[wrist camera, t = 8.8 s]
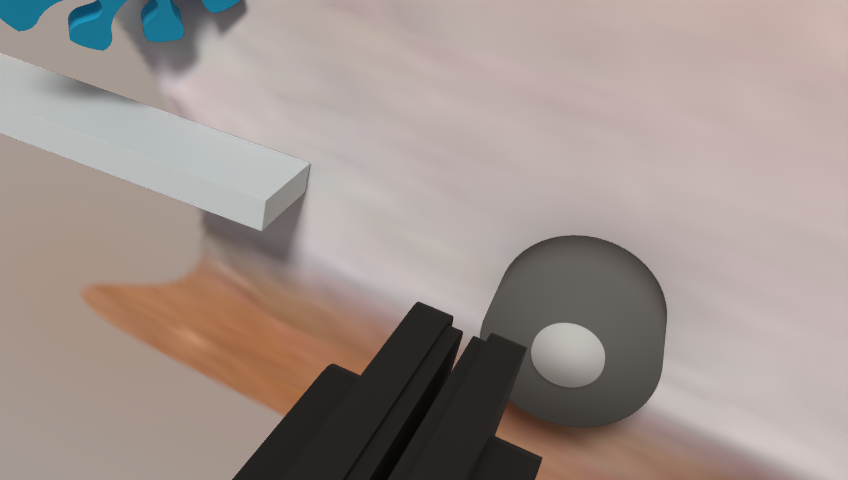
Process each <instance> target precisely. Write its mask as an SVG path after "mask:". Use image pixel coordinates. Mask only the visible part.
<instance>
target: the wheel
mask: <svg viewBox="0 0 848 480" xmlns="http://www.w3.org/2000/svg"><path fill="white" fill-rule="evenodd" d="M666 323H667V308H666V301H665V298H664V294H663V291H662V289H661V287H660V285H659V283H658V281H657V279H656V278H655V276H654V275H653V273H652V272H651V271H650V270H649V269H648V267H647V266H646V265H645V264H644V263H643V262H642V261H641V260H640V259H638V258H637V257H636V256H634V255H633V254H632V253H630V252H629V251H627V250H625V249H624V248H622V247H620V246H618V245H616V244H613V243H611V242H609V241H606V240H602V239H599V238H594V237H588V236H576V235H571V236H560V237H555V238H550V239H547V240H544V241H541V242H539V243H537V244H535V245H533V246H531V247H529V248H528V249H526V250H525V251H523V252H522V253H521V254H520V255H519V256H518V257H516V258H515V260H514V261H513V262H512V263H511V264H510V266H509V267H508V269H507V270H506V272H505V274H504V276H503V278H502V280H501V283H500V285H499V287H498V289H497V291H496V293H495V296H494V298H493V300H492V302H491V304H490V306H489V309H488V311H487V313H486V315H485V318H484V320H483V323H482V327H481V332H480V339H482V340H485V341H486V340H487V338H488V337H489V335H490V333H494V334H497V335H499V336H502V337H504V338H506V339H509V340H511V341H513V342H516V343H518V344H521V345H523V346H525V347H527V350H526V353H525V356H524V359H523V362H522V364H521V367H520V370H519V372H518V375H517V378H516V380H515V383H514V386H513V388H512V391H511V394H510V396H509V400H510V401H511V402H512V403H514V404H515V405H516V406H518V407H519V408H521V409H522V410H524V411H526V412H527V413H529V414H531V415H533V416H535V417H537V418H539V419H542V420H545V421H548V422H551V423H554V424H558V425H563V426H570V427H596V426H602V425H607V424H611V423H614V422H617V421H619V420H622V419H624V418H626V417H628V416H630V415H631V414H633V413H634V412H636V411H637V410H638V409H639V408H641V407H642V406H643V405H644V404H645V403H646V402H647V401H648V399H649V398H650V397H651V396H652V394H653V393H654V391H655V389H656V387H657V385H658V382H659V380H660V377H661V372H662V366H663V355H664V345H665V334H666Z"/></svg>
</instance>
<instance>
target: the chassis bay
mask: <svg viewBox="0 0 848 480" xmlns="http://www.w3.org/2000/svg"><path fill="white" fill-rule="evenodd" d="M0 134H3V135H6V136H8V137H11V138H14V139H16V140H19V141H22V142H25V143H27V144H30V145H32V146H35V147H38V148H41V149H43V150H46V151H48V152H51V153H54V154H57V155H59V156H62V157H64V158H67V159H70V160H73V161H75V162H78V163H81V164H83V165H86V166H89V167H91V168H94V169H97V170H99V171H102V172H105V173H107V174H110V175H113V176H115V177H118V178H121V179H123V180H126V181H129V182H131V183H134V184H137V185H140V186H142V187H145V188H147V189H150V190H153V191H155V192H158V193H161V194H163V195H166V196H169V197H171V198H174V199H177V200H179V201H182V202H185V203H187V204H190V205H193V206H195V207H198V208H201V209H203V210H206V211H209V212H211V213H214V214H217V215H219V216H222V217H225V218H227V219H230V220H233V221H235V222H238V223H241V224H243V225H246V226H249V227H251V228H254V229H257V230H259V231H262V230H263V229H265V228H266V227H267V226H268V225H269V224H270V223H271V222H272V221H273V220H275V219H276V218H277V217H278V216H279V215H280V214H281V213H282V212H283V211H284V210H286V209H287V208H288V207H289V206H290V205H291V204H292V203H293V202H294V201H296V200H297V199H298V198H299V197H300V196H301V195H302V194H303V193H304V192H305V191H306V186H307V180H308V174H309V168H310V163H308V162H305V161H303V160H300V159H297V158H294V157H291V156H289V155H286V154H283V153H280V152H277V151H275V150H272V149H269V148H266V147H263V146H261V145H258V144H255V143H252V142H249V141H246V140H244V139H241V138H238V137H235V136H232V135H230V134H227V133H224V132H221V131H218V130H216V129H213V128H210V127H207V126H204V125H202V124H199V123H196V122H193V121H190V120H187V119H185V118H182V117H179V116H176V115H173V114H171V113H168V112H165V111H162V110H159V109H156V108H154V107H151V106H148V105H145V104H143V103H139V102H137V101H134V100H131V99H128V98H126V97H123V96H120V95H117V94H114V93H112V92H109V91H106V90H103V89H100V88H98V87H95V86H92V85H89V84H86V83H84V82H81V81H78V80H75V79H72V78H69V77H67V76H64V75H61V74H58V73H55V72H53V71H50V70H47V69H44V68H41V67H38V66H36V65H33V64H30V63H27V62H25V61H22V60H19V59H16V58H13V57H10V56H8V55H5V54H2V53H0Z"/></svg>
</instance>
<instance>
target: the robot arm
mask: <svg viewBox="0 0 848 480" xmlns="http://www.w3.org/2000/svg"><path fill="white" fill-rule="evenodd" d="M452 323H453V316H452V315H449V314H447V313H445V312H442V311H440V310H438V309H435V308H433V307H430V306H428V305H426V304H423V303H421V302H417V303H416V304H415V305H414V306H413V307H412V308H411V310H410V311H409V312H408V314H407V315H406V316H405V318H404V319H403V320H402V322H401V323H400V324H399V326H398V327H397V328H396V330H395V331H394V332H393V333H392V335H391V336H390V337H389V339H388V340H387V341H386V343H385V344H384V345H383V347H382V348H381V349H380V351H379V352H378V353H377V355H376V356H375V357H374V359H373V360H372V361H371V362H370V364H369V365H368V366H367V368H366V369H365V370H364V372H363V373H362V374H361V376H360V375H358V374H356V373H353V372H351V371H349V370H347V369H344V368H342V367H340V366H338V365H336V364H331V365H329V366H328V367H327V368H326V369H325V370H324V371H323V372H322V373H321V374H320V375H319V376H318V378H317V379H316V380H315V381H314V382H313V384H312V385H311V386H310V387H309V388H308V389H307V391H306V392H305V393H304V394H303V395H302V397H301V398H300V399H299V400H298V401H297V403H296V404H295V405H294V406H293V407H292V409H291V410H290V411H289V412H288V413H287V415H286V416H285V417H284V418H283V419H282V421H281V422H280V423H279V424H278V425H277V427H276V428H275V429H274V430H273V431H272V433H271V434H270V435H269V436H268V437H267V439H266V440H265V441H264V442H263V443H262V445H261V446H260V447H259V448H258V449H257V451H256V452H255V453H254V454H253V455H252V457H251V458H250V459H249V460H248V461H247V463H246V464H245V465H244V466H243V467H242V469H241V470H240V471H239V472H238V473H237V474H236V476H235V477H234V478H233V479H232V480H535V478H536V475H537V472H538V470H539V467H540V464H541V461H542V457H540V456H538V455H536V454H534V453H531V452H529V451H527V450H525V449H522V448H520V447H518V446H516V445H513V444H511V443H509V442H507V441H505V440H502V439H500V438H498V437H496V436H495V434H496V431H497V428H498V426H499V423H500V420H501V418H502V415H503V412H504V410H505V407H506V404H507V402H508V399H509V396H510V394H511V391H512V388H513V386H514V383H515V380H516V378H517V375H518V372H519V370H520V367H521V364H522V362H523V359H524V356H525V353H526V350H527V347H525V346H523V345H521V344H518V343H516V342H513V341H511V340H509V339H506V338H504V337H502V336H499V335H497V334H494V333H490V335H489V337H488V338H487V340H486V341H485V340H482V339H480V338H478V337H475V336H473V337H472V339H471V340H470V342H469V344H468V345H467V347H466V349H465V350H464V352H463V354H462V355H461V357H460V359H459V360H458V362H457V364H456V365H455V367H454V369H453V371H452V367H453V364H454V361H455V358H456V355H457V352H458V349H459V345H460V342H461V339H462V335H463V331H461V330H459V329H456V328H454V327H452ZM451 371H452V372H451Z"/></svg>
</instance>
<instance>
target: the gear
mask: <svg viewBox="0 0 848 480" xmlns="http://www.w3.org/2000/svg"><path fill="white" fill-rule="evenodd" d="M59 1H62V0H0V18H1V19H2V20H3V21H4V22H6V23H7V24H8V25H10V26H11V27H13V28H14V29H16V30H17V31H25V30H28V29H30V28H32V27H33V26H34V25H35V24H36V23H37V21H38V19H39V17H40V16H41V15H42V13H43V12H44V11H45V10H46V9H48V8H49V7H50V6H52V5H53V4H55V3H57V2H59ZM126 1H127V0H96V1H95V2H93V3H90V4H87V5H84V6H81V7H78V8H76V9H74V10H73V11H72V12H71V13H70V15H69V17H68V24H69V36H70V40H71V41H73V42H75V43H77V44H79V45H81V46H84V47H88V48H92V49H97V50H102V51H103V50H105V49H107V48H108V47H109V46H110V44H111V42H112V33H111V24H112V20H113V17H114V16H115V14H116V12H117V11H118V9H119V8H120V7H121V6H122V5H123V4H124V3H125V2H126ZM202 1H203V4H204V6H205V8H206V9H207V10H209V11H210V12H212V13H217V12H221V11H223V10H225V9H228V8H229V7H231V6H233V5H234V4H236V3H237V2H239V1H240V0H202ZM141 18H142V24H143V30H144V35H145V37H146V39H147V40H148V41H154V42H164V41H172V40H178V39H181V38H182V37H183V34H184V28H183V23H182V18H181V13H180V10H179V8H178V7H177V6H176V5H175V4H174V2H173V1H172V0H151V1H150V2H149V3H147V4H146V5H145V7H144V8H143V10H142V12H141Z"/></svg>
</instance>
